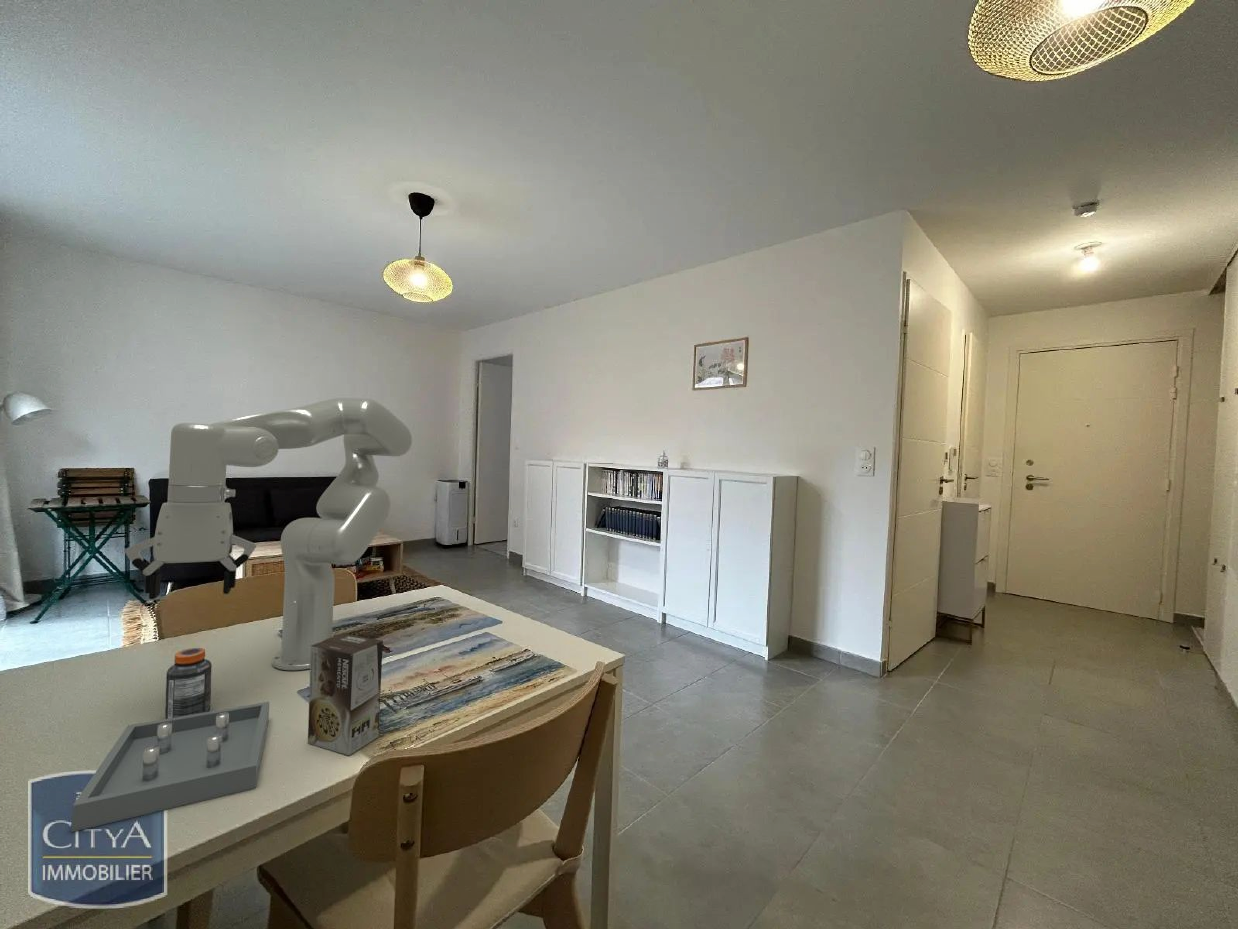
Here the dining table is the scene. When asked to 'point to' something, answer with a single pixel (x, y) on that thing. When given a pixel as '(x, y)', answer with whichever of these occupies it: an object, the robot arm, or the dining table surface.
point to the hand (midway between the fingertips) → (191, 594)
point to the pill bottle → (188, 684)
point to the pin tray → (175, 764)
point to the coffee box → (344, 692)
